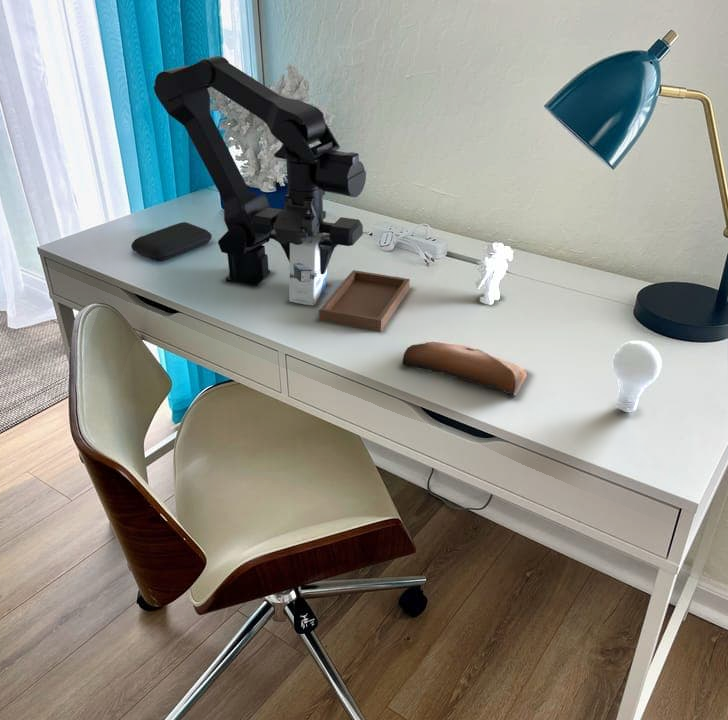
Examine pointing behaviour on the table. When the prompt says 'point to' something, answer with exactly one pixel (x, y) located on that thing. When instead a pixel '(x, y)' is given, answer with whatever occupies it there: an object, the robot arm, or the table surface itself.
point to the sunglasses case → (466, 365)
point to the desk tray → (365, 300)
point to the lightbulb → (634, 371)
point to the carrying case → (171, 241)
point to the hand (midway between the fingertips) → (309, 271)
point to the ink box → (306, 271)
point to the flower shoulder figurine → (493, 270)
